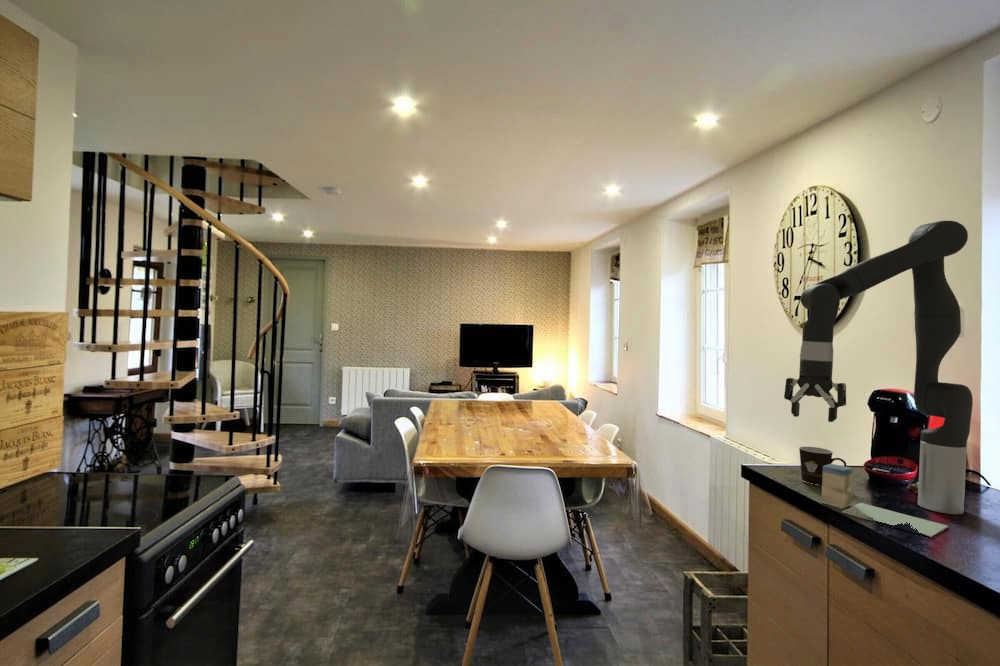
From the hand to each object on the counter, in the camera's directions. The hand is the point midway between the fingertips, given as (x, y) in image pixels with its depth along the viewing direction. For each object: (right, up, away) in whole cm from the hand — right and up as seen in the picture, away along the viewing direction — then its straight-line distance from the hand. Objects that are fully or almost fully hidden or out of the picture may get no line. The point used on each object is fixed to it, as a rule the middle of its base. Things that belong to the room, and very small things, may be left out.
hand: (813, 419), depth 137 cm
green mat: (+12, -23, -12) cm, 28 cm away
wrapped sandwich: (+40, -24, +9) cm, 48 cm away
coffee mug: (+11, -23, +16) cm, 30 cm away
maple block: (+5, -22, -2) cm, 23 cm away
